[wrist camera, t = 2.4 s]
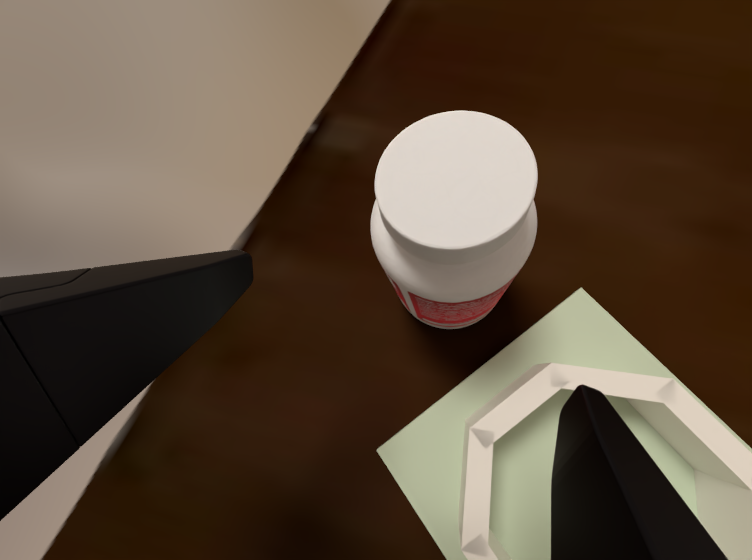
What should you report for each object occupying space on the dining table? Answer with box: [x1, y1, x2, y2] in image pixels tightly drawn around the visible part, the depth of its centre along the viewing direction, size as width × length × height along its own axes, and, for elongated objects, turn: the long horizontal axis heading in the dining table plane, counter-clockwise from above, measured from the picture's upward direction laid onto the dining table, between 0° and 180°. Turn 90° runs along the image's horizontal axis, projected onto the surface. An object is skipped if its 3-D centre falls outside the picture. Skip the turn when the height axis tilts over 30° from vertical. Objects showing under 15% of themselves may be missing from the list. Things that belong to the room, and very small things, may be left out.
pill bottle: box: [371, 111, 538, 329], centre depth 15 cm, size 6×6×11 cm
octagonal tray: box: [376, 288, 752, 560], centre depth 14 cm, size 14×14×4 cm
